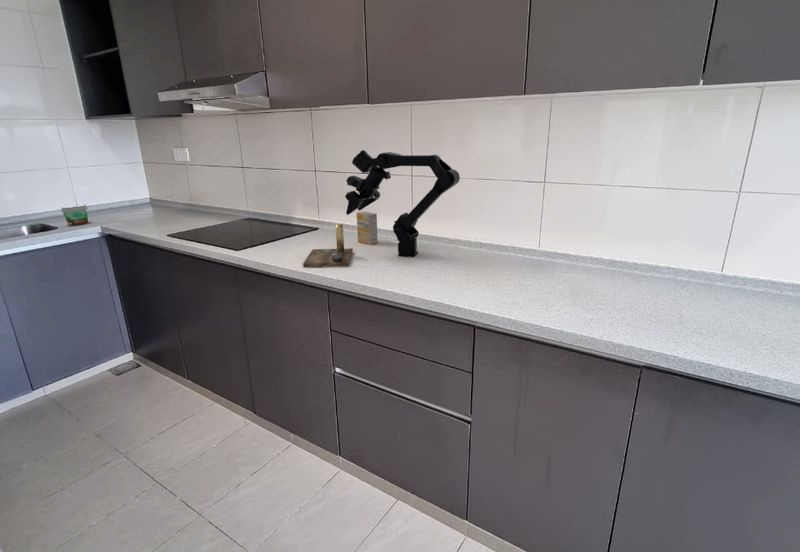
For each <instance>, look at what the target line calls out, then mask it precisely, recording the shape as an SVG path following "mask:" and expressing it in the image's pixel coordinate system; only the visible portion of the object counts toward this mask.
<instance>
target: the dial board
mask: <svg viewBox="0 0 800 552" xmlns="http://www.w3.org/2000/svg"><path fill="white" fill-rule="evenodd" d="M334 252H337V248H319V249H318V248H317V249H315V248H313V249H312V250H311V251H310V252H309V254H308V256H306V259H305V260H304V261H303V262H302V265H303V266H302V268H303V267H309V268H324V267H323V266H348V267H349V265H348V264H350V262H349V261H351V259H350V258H352V256H351V255H353V253H352V252H354V250H353V247H351V248H350V247H349V248H344V252H342V260H341V261H333V260H332V253H334Z"/></svg>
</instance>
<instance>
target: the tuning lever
mask: <svg viewBox="0 0 800 552" xmlns="http://www.w3.org/2000/svg"><path fill="white" fill-rule="evenodd" d="M343 225H344V224H342V223H337V224H335V226H334V228H335V238H336V240H335V241H336V249H337V252H334V253H332V260H333V261H341V260H342V252H344V249H345V240H344V226H343Z"/></svg>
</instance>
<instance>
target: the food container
mask: <svg viewBox="0 0 800 552" xmlns="http://www.w3.org/2000/svg"><path fill="white" fill-rule="evenodd" d="M87 209H88V206H87V204H84V205H81V206H80V205H79V206H71V207H61V209H60V211H61V212H62V213H63V216H64V218H65V221H66V223H67V226H68V225H69V227H70V226H71V227H72V226H73V227H75V226H74V225H77V226H84V225H87V224H89V218H88V210H87Z"/></svg>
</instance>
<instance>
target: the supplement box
mask: <svg viewBox="0 0 800 552" xmlns="http://www.w3.org/2000/svg"><path fill="white" fill-rule="evenodd" d="M356 230H357V242H358V243H361V242H362V244H365V243H366V244H365V245H369V244H372V245H375V244H374V243H376V244H378V243H377V242H379V241H378V240H379V239H378V213H376V212H370V211H365V210H364V211H358V212H356Z"/></svg>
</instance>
